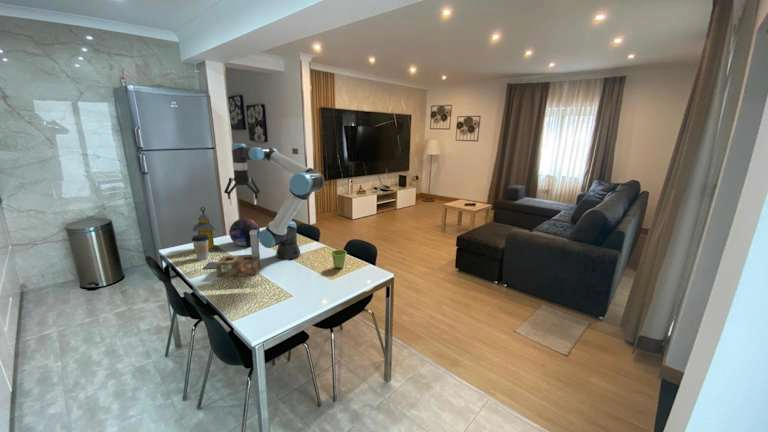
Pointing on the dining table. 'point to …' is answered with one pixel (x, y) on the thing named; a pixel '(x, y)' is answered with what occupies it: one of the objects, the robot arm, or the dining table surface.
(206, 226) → the lantern
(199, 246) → the coffee cup
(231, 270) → the socket block
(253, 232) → the plug
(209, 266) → the mat
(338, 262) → the plant pot
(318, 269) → the dining table surface
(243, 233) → the decorative sphere
